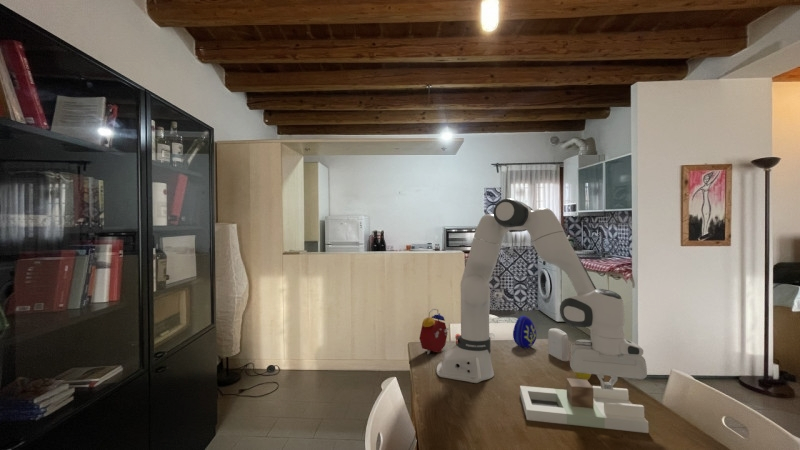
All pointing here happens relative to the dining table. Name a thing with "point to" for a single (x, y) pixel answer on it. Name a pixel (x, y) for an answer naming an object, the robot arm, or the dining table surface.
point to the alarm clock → (433, 333)
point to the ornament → (524, 332)
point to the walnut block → (580, 393)
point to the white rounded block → (558, 344)
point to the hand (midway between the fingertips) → (606, 389)
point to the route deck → (584, 409)
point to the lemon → (582, 375)
